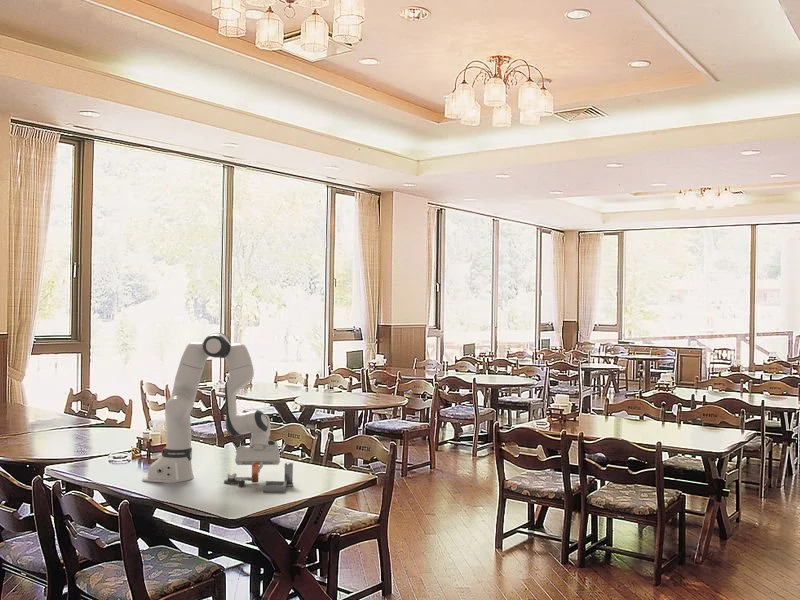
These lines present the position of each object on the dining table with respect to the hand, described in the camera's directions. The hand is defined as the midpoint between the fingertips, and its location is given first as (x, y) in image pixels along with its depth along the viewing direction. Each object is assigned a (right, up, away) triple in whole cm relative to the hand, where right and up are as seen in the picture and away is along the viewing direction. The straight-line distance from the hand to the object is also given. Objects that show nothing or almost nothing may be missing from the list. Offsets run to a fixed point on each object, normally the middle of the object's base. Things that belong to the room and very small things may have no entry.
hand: (256, 471), depth 345 cm
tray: (+10, -5, -13) cm, 17 cm away
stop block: (-5, -5, -7) cm, 10 cm away
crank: (-6, -4, -1) cm, 7 cm away
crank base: (-11, -5, 0) cm, 12 cm away
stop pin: (+15, -5, -4) cm, 17 cm away
